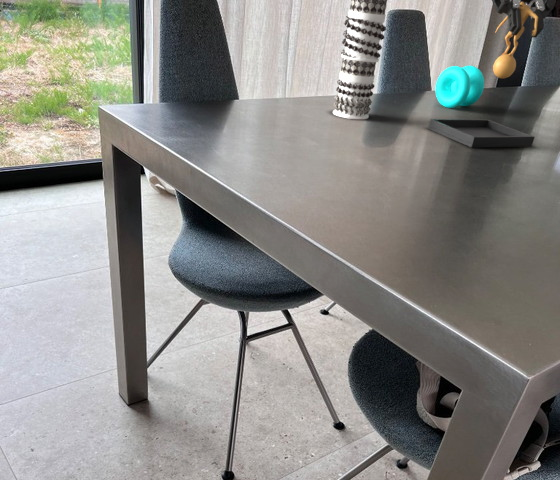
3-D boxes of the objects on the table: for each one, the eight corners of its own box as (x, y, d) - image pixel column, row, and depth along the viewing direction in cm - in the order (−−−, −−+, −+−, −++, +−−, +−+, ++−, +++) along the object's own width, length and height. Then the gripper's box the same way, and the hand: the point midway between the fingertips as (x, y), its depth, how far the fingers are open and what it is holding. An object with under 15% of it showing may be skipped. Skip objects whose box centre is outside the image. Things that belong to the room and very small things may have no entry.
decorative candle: (325, 114, 130) (343, -17, 116) (339, 108, 137) (357, -16, 123) (362, 121, 128) (385, -11, 113) (374, 115, 135) (398, -10, 120)
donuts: (429, 103, 156) (438, 62, 150) (449, 101, 162) (459, 62, 156) (459, 112, 150) (471, 70, 144) (479, 109, 156) (491, 69, 150)
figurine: (477, 77, 108) (489, 2, 101) (497, 73, 111) (509, 0, 104) (514, 82, 103) (530, 4, 96) (534, 78, 106) (550, 1, 99)
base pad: (485, 128, 136) (488, 119, 134) (531, 146, 125) (534, 136, 124) (427, 128, 129) (430, 119, 128) (471, 147, 118) (474, 137, 117)
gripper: (495, -75, 99) (499, 13, 96) (570, -66, 101) (576, 21, 98) (475, -38, 106) (479, 44, 104) (545, -30, 108) (551, 51, 105)
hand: (526, 32), depth 101 cm, fingers closed on figurine, 3 cm apart
